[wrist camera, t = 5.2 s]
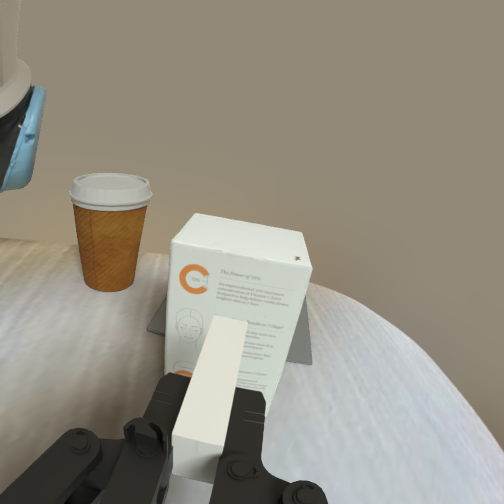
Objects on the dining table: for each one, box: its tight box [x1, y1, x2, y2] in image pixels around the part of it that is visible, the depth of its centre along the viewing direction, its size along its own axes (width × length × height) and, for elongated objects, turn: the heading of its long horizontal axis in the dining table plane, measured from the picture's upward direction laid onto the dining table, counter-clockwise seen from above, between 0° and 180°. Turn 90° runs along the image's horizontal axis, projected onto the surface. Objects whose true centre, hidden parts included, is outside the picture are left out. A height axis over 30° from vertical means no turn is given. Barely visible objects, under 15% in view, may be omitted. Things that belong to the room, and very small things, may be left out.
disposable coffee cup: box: [69, 173, 153, 292], centre depth 34 cm, size 10×10×12 cm
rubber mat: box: [147, 295, 312, 365], centre depth 36 cm, size 16×14×1 cm
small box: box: [164, 213, 312, 417], centre depth 23 cm, size 8×6×13 cm
